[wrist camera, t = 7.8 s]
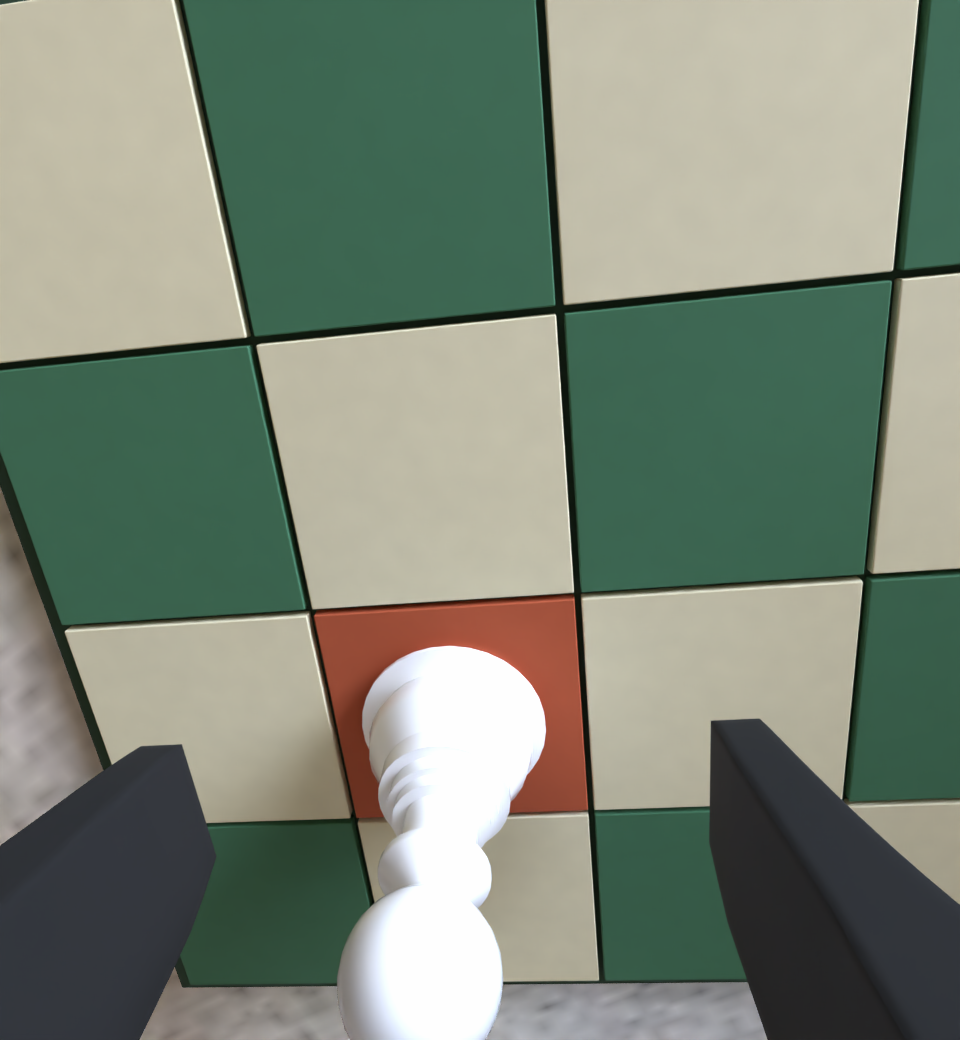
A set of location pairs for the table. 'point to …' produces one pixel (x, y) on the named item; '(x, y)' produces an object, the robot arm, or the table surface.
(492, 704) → the chess pawn
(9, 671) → the table surface
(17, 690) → the table surface
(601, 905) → the chess mat
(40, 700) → the table surface
